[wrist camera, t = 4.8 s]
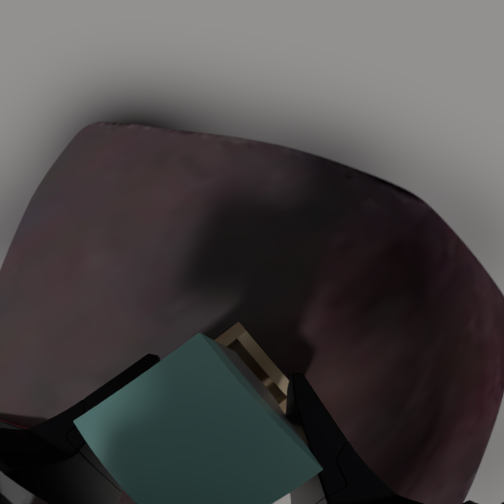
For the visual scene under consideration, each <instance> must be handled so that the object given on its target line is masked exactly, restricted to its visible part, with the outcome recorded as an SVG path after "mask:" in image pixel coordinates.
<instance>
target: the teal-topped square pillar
mask: <svg viewBox="0 0 504 504" xmlns="http://www.w3.org/2000/svg"><path fill="white" fill-rule="evenodd" d="M73 422H74V424H75V425H76V427H77V428H78V430H79V431H80V433H81V435H82V436H83V438H84V439H85V441H86V442H87V444H88V445H89V446H90V448H91V449H92V451H93V452H94V453H95V455H96V456H97V458H98V459H99V460H100V462H101V463H102V464H103V465H104V467H105V468H106V469H107V470H108V472H109V473H110V474H111V475H112V477H113V478H114V479H115V480H116V481H117V483H118V484H119V485H120V486H121V487H122V488H123V489H124V490H125V492H126V493H127V494H128V495H129V496H130V497H131V498H132V499H133V500H134V501H135V502H136V503H137V504H272V503H274V502H276V501H277V500H279V499H281V498H282V497H284V496H286V495H287V494H289V493H290V492H292V491H293V490H295V489H296V488H298V487H299V486H301V485H302V484H304V483H305V482H307V481H308V480H310V479H311V478H312V477H314V476H315V475H316V474H318V473H319V472H320V471H322V470H323V468H322V467H321V466H320V464H319V463H318V461H317V460H316V459H315V457H314V456H313V454H312V453H311V452H310V450H309V449H308V447H307V446H306V444H305V443H304V442H303V440H302V439H301V437H300V436H299V434H298V433H297V431H296V430H295V428H294V427H293V425H292V424H291V422H290V421H289V420H288V418H287V417H286V415H285V413H284V412H283V410H282V409H281V407H280V406H279V404H278V403H277V401H276V399H275V398H274V396H273V395H272V393H271V392H270V391H269V390H268V389H267V388H266V387H265V386H264V384H263V383H262V382H261V381H260V380H259V379H258V378H257V376H256V375H255V374H254V373H253V372H252V371H251V369H250V368H249V367H248V366H247V365H246V363H245V362H244V361H243V360H242V359H241V357H240V356H239V355H238V354H237V353H236V352H235V351H233V350H231V349H229V348H227V347H225V346H224V345H222V344H220V343H218V342H216V341H214V340H212V339H211V338H209V337H207V336H205V335H203V334H202V333H200V332H199V333H198V334H197V335H195V336H194V337H193V338H191V339H190V340H188V341H187V342H186V343H184V344H183V345H182V346H180V347H179V348H178V349H176V350H175V351H174V352H172V353H171V354H169V355H168V356H167V357H165V358H164V359H162V360H161V361H160V362H158V363H157V364H156V365H154V366H153V367H151V368H150V369H149V370H147V371H146V372H144V373H143V374H142V375H140V376H139V377H137V378H136V379H134V380H133V381H132V382H130V383H129V384H127V385H126V386H124V387H123V388H122V389H120V390H119V391H117V392H116V393H114V394H113V395H111V396H110V397H108V398H107V399H106V400H104V401H103V402H101V403H100V404H98V405H97V406H95V407H94V408H92V409H91V410H89V411H88V412H86V413H85V414H83V415H82V416H80V417H79V418H77V419H76V420H74V421H73Z"/></svg>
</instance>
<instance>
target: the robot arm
mask: <svg viewBox="0 0 504 504" xmlns="http://www.w3.org/2000/svg"><path fill="white" fill-rule="evenodd" d="M158 362H160V358H159V356H157V355H153V354H147V355H146V356H144V357H143V358H141V359H140V360H139V361H137V362H136V363H134V364H133V365H132V366H130V367H129V368H127V369H126V370H125V371H123V372H122V373H120V374H119V375H117V376H116V377H115V378H113V379H112V380H110V381H109V382H107V383H106V384H105V385H103V386H102V387H100V388H99V389H97V390H96V391H94V392H93V393H92V394H90V395H89V396H87V397H86V398H84V400H81V401H80V402H78V403H77V404H75V405H74V406H72V407H71V408H69V409H67V410H66V411H64V412H62V413H60V414H59V415H57V416H55V417H53V418H51V419H49V420H47V421H45V422H43V423H41V424H39V425H37V426H34V427H32V428H29V429H22V430H20V429H8V428H0V504H118V502H119V499H120V496H121V493H122V490H123V488H122V487H121V486H120V485H119V484H118V483H117V481H116V480H115V479H114V478H113V477H112V475H111V474H110V473H109V472H108V470H107V469H106V468H105V467H104V465H103V464H102V463H101V462H100V460H99V459H98V458H97V456H96V455H95V453H94V452H93V451H92V449H91V448H90V446H89V445H88V444H87V442H86V441H85V439H84V438H83V436H82V435H81V433H80V431H79V430H78V428H77V427H76V425H75V424H74V422H73V421H74V420H76V419H77V418H79V417H80V416H82V415H83V414H85V413H86V412H88V411H89V410H91V409H92V408H94V407H95V406H97V405H98V404H100V403H101V402H103V401H104V400H106V399H107V398H108V397H110V396H111V395H113V394H114V393H116V392H117V391H119V390H120V389H122V388H123V387H124V386H126V385H127V384H129V383H130V382H132V381H133V380H134V379H136V378H137V377H139V376H140V375H142V374H143V373H144V372H146V371H147V370H149V369H150V368H151V367H153V366H154V365H156V364H157V363H158ZM286 417H287V418H288V420H289V421H290V422H291V424H292V425H293V427H294V428H295V430H296V431H297V433H298V434H299V436H300V437H301V439H302V440H303V442H304V443H305V444H306V446H307V447H308V449H309V450H310V452H311V453H312V454H313V456H314V457H315V459H316V460H317V461H318V463H319V464H320V466H321V467H322V468H323V470H322V471H320V472H319V473H318V474H316V475H315V476H314V477H312V478H311V479H310V480H308V481H307V482H305V483H304V484H302V485H301V486H299V487H298V488H296V489H295V490H293V491H292V492H290V497H291V504H423V503H420V502H417V501H413V500H410V499H407V498H404V497H402V496H399V495H397V494H396V493H394V492H393V491H391V490H390V489H389V488H388V487H387V486H386V485H385V484H384V483H383V482H382V481H381V480H380V479H379V478H378V477H377V476H376V475H375V474H374V473H373V471H372V470H371V469H370V468H369V467H368V466H367V465H366V464H365V463H364V462H363V460H362V459H361V458H360V457H359V456H358V454H357V453H356V452H355V450H354V449H353V447H352V446H351V445H350V443H349V442H348V441H347V439H346V437H345V436H344V434H343V433H342V432H341V430H340V429H339V427H338V426H337V424H336V423H335V421H334V420H333V418H332V417H331V415H330V414H329V412H328V411H327V409H326V408H325V406H324V405H323V403H322V402H321V400H320V399H319V397H318V396H317V394H316V393H315V391H314V390H313V388H312V387H311V385H310V384H309V382H308V381H307V379H306V378H305V376H304V375H303V374H301V373H292V374H291V376H290V380H289V383H288V387H287V400H286ZM463 504H478V503H475V502H473V501H470V500H469V501H467V502H465V503H463ZM501 504H504V502H503V503H501Z"/></svg>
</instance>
